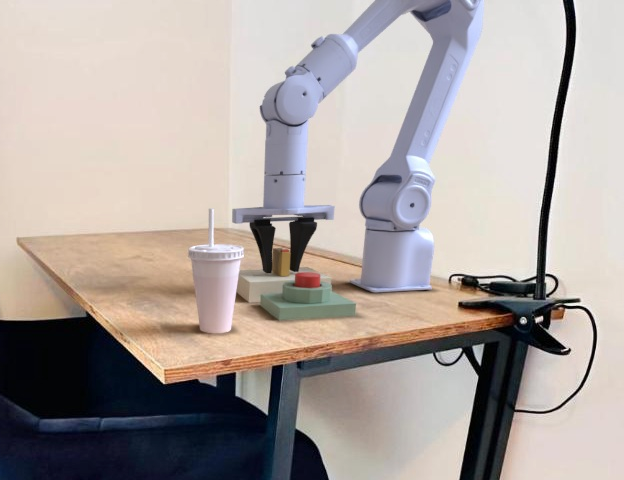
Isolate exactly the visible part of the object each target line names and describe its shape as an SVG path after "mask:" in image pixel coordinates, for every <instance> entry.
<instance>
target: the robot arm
mask: <svg viewBox="0 0 624 480" xmlns="http://www.w3.org/2000/svg"><path fill="white" fill-rule="evenodd" d="M484 6H485V0H374V1H373V2H372V3H370V5H369V6H368V7H367V8H365V10H364V11H363V12H362V14H360V15H359V16H358V18H356V19H355V21H353V23H351V24H350V25H349V27H348V28H347V29H346V30H345V31H344V32H343V33H341V34H340V33H329V34H327V35H326V36H325V37H324V36H319V37H318V38H316V39H315V40H314V41H313V42H312V43H311V44H310V47H311V48H312V49H311V51H310V52H308V53H307V55H305V56H304V58H302V59H301V60H300V61H299V62H298V63H297V64H296V65H295V66H293V65H291V66H289V67H288V68H287V69H286V70H285V71H284V75H285V80H283V81H280V82H277V83H275V84H274V85H272V86H270V87H269V88H268V90H267V91H266V92H265V94H264V96H263V97H264V98H263V99H262V103H261V105H259V113H260V116H261V119H262V120H263V122H264V123H265V140H264V169H263V170H264V171H263V203H262V206H258V207H257V206H255V207H241V208H231V209H232V210H231V222H232V223H233V224H237V225H238V224H239V225H240V224H246V223H248V224H249V228H250V231H251V233H252V235H253V237H254V240H255V242H256V245H257V248H258V251H259V255H260V260H261V265H262V269H263V271H264V272H265V273H272V258H273V248H274V240H275V235H276V227H275V226H273V223H271V222H289V223H288V227H289V245H290V246H289V252H290V270H291V271H293V272H298V271H299V267H301V262H302V260H303V256H304V254H305V251H306V248H307V247H308V244H309V242H310V240H311V238H312V237H313V235H314V234H315V232H316V231H317V228H318V222H317V221H318V220H320V221H321V220H322V221H323V220H325V221H331V220H332V221H333V220H335V219H334V218H335V205H331V204H323V205H321V204H319V205H316V204H315V205H309V204H308V205H305V197H306V196H305V193H306V179H307V161H308V160H307V158H308V141H309V123H310V122H309V119H312V118H313V117H314V116H315V115H316V112H317V110H318V106H319V104H320V103H322V101H323V100H325V99H326V98H327V97H328V96H329V95H330V94H331V93H332V92H333V91H334V90H335V89H336V88H337V87H338V86H339V85H341V83H343V81H345V79H347V78H348V76H350V75H351V74H352V73H353V72H354V70H356V68H357V64H358V55H359V53H360V52H361V51H362V50H364V49H365V48H366V47H367V46H369V44H370V43H372V41H374V40H375V39H376V38H377V37H378V36H380V34H382V32H384V31H386V29H388V27H390V26H391V25H392V24H393V23H394V22H395V21H396V20H397V19H398V18H400V17H401V16H403V15H406V14H408V13H410V15H412V16H413V18H414V19H415V20H416V21H417V22H418V23H419V24H420V25H421V27H422V28H423V29H424V30H425V31H426V32H427V33H428V34H429V36H430V38H431V41H432V45H431V46H430V47H431V48H430V50H429V53H428V56H427V58H426V61H425V64H424V66H423V68H422V70H421V71H422V72H421V74H420V76H419V79H418V81H417V84H416V88H415V90H414V93H413V95H412V98H411V100H410V102H409V105H408V108H407V111H406V114H405V116H404V119H403V122H402V124H401V127H400V129H399V133H398V134H397V138H396V140H395V143H394V146H393V147H392V150H391V154H390V155H389V157H388V158H387V159H386V160H385V161H384V163H382V164H381V165H380V166H379V167H378V168H377V169H376V171H375V173H374V176H373V178H372V180H371V182H369V184H367V186H366V187H365V188H364V189H363V190H362V193H361V194H360V197H359V201H358V208H359V212H360V214H361V216H362V217H363V218H364V220H365V221H364V222H365V223H364V226H365V231H364V239H363V240H364V241H363V252H362V263H361V271H360V272H361V273H360V278H356V279H355V278H353V279H349V283H350V284H352V285H354V286H357V287H359V288H361V289H364V290H365V291H368V292H370V293H373V294H374V293H391V292H408V291H409V292H410V291H424V290H433V286H432V285H430V283H431V276H432V275H431V274H432V266H433V261H434V252H435V239H434V236H433V233H432V232H431V231H430V230H429V229H428V228H426V227H420V225H421V224H422V223H423V221H425V219H426V218H427V216H428V215H429V213H430V212H431V211H430V210H431V208H432V191H433V188H434V185H435V182H436V177H435V175H434V173H433V171H432V169H431V167H430V163H431V160H432V158H433V156H434V153H435V150H436V148H437V145H438V143H439V141H440V138H441V136H442V134H443V130H444V129H445V125H446V123H447V120H448V119H449V118H448V117H449V115H450V113H451V110H452V108H453V105H454V103H455V101H456V99H457V96H458V94H459V91H460V88H461V85H462V83H463V80H464V78H465V75H466V74H467V70H468V68H469V66H470V63H471V61H472V58H473V56H474V53H475V50H476V47H477V45H478V43H479V40H480V38H481V35H482V32H483V26H484V25H483V24H484V8H485V7H484ZM273 216H276V217H273ZM277 216H279V217H277Z"/></svg>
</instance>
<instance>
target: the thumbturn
mask: <svg viewBox="0 0 624 480" xmlns="http://www.w3.org/2000/svg"><path fill="white" fill-rule="evenodd" d="M272 272H274V273H276V274H278V275H279V276H289V272H290V249H288V248H282V247H273V249H272Z"/></svg>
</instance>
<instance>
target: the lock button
mask: <svg viewBox="0 0 624 480" xmlns="http://www.w3.org/2000/svg"><path fill="white" fill-rule="evenodd" d="M320 276H321V275H320V274H318V273H312V272H301V273H296V274H295V287H300V288H317V287H320Z"/></svg>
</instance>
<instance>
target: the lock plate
mask: <svg viewBox="0 0 624 480" xmlns="http://www.w3.org/2000/svg"><path fill="white" fill-rule="evenodd" d="M301 272H312V273H318V274H320V275H321V276H320V281H321V282H327V283H329V284H331V285H332V277H331V276H329V275H326V274H325V273H323V272H320V271H318V270H315V269H313V268H311V267H309V266H302V267H301V266H300V267H299V271H298V272H293V271H291V270H290V272H289V276H279V275H278V274H276V273H274V272H272V273H265V272H264V271H263V268H262V269H261V268H259V269H244V270H243V269H242V270H241V269H239V276H238V283H237V290H236V294H238V295H239V296H241V297H242V298H243V299H244V300H245V301H246V302H247V303H260V298H261V294H269V293H282V287H283V284H284V283H285V282H290V281H295V274H296V273H301Z"/></svg>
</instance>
